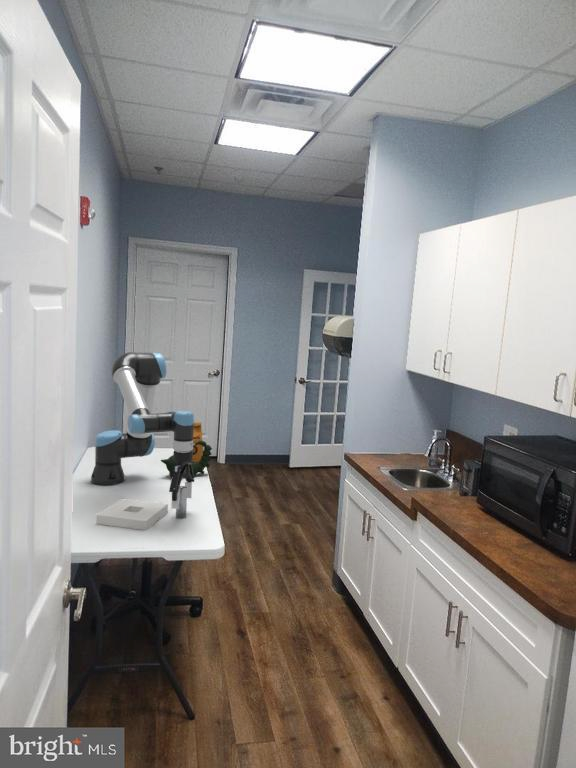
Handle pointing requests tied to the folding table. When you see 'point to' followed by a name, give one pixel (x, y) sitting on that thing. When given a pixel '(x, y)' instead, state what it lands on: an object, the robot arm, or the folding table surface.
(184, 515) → the steel pin
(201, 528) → the folding table surface
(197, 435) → the coffee package
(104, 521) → the socket block
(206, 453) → the toy figurine
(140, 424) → the robot arm
